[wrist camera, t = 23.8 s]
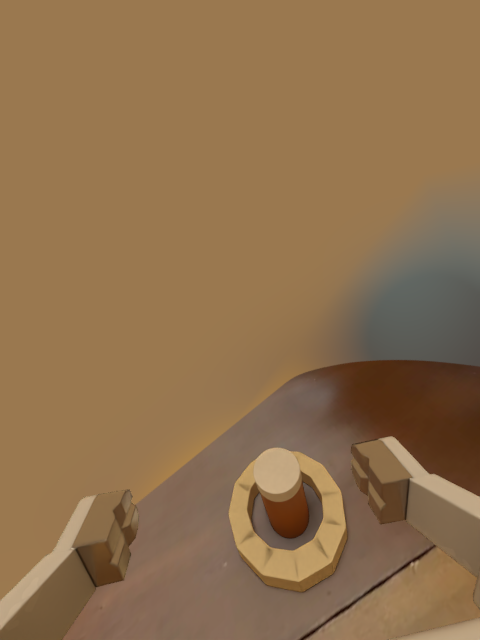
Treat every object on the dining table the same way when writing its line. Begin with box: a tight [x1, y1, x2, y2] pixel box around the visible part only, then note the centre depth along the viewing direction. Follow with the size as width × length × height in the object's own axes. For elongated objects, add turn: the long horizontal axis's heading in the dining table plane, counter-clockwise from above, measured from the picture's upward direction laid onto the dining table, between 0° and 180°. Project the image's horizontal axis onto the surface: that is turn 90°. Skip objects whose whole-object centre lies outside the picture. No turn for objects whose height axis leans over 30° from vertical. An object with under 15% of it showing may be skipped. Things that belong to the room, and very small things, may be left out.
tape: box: [229, 452, 347, 592], centre depth 31 cm, size 14×14×2 cm
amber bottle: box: [253, 448, 309, 538], centre depth 29 cm, size 5×5×9 cm
